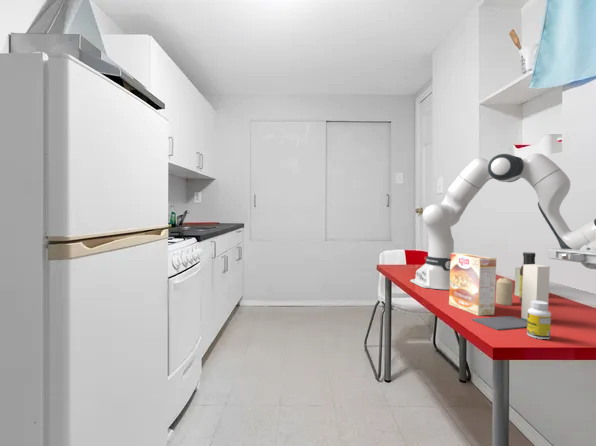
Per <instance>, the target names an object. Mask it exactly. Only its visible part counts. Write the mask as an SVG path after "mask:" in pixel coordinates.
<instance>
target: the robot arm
mask: <svg viewBox="0 0 596 446" xmlns="http://www.w3.org/2000/svg"><path fill="white" fill-rule="evenodd" d="M492 179H494V180H496V181H498V182H501V183H502V182H503V183H513V182H516V181H518V180H520V179H524V180H525V181H527V183H528V184H529V185H530V186H531V187H532V188H533V189H534V191H535V192H536V195H537V198H538V203H537V207H538V210H539V211H540V213H541V214H542V217H543V218H544V220H545V222H546V223H547V225H548V226H549V229H551V231H552V233H553V234H554V236H555V237H556V240H557V241H558V244H559V247H560V248H549V249H548V251H547V252H548V253H547V257H548V259H551V260H557V261H566V262H574V263H575V262H576V263H580V264H581V265H582V266H584V267H585V268H587V269H589V270H596V218H595V219H593V220H591V221H589V222H587V223H586V224H584V225H582V226H580V227H579V228H577V229H575V230H574V231H572V230H571V229H570V228H569V226H568V224H567V223H566V221H565V219H564V218H563V217H562V214H561V212H560V211H561V210H560V208H561V205H562V203H563V202H564V200H565V199H566V197H567V195H568V194H569V192H570V189H571V180H570V178H569V177H568V175H567V173H565V171H563V170H562V168H561V167H559V166H558V165H557V163H555V162H554V161H553V160H551V159H550V158H549V157H548V156H546V155H544V154H542V153H534V154H531V155H528V156H527V157H525V158H523V159H522V157H521V156H520V157H519V156H516V155H513V154H508V153H500V154H498V155H495V156H493V157H492V158H491V159H490V160H488V159H486V158H483V157H477V158H474V159H472V161H470V163H468V164H467V165H466V167H464V168H463V169H462V170H461V172H459V174H458V175H457V176H456V178H455V179H454V180H453V181H452V183H451V184H450V185H449V187H448V188H447V190H446V194H445V196H444V198H443V199H442V201H441V202H440V203H432V204H430V205H428V206H426V207H425V208H424V210H423V212H422V220H423V222H424V224H425V227H426V233H427V241H428V244H427V245H428V247H427V249H428V250H427V256H424V259H425V261H424V262H425V263H424V264H423V265H422V266H420V267H419V268H418V269H416V271H415V278H411V279H410V281H409V282H410V283H413V284H414V285H417V286H419V287H421V288H424V289H426V288H428V289H432V290H433V289H436V290H449V291H450V262H451V253H455V252H454V251H455V250H454V249H455V239H454V238H453V235H452V230H451V229H452V228H451V227H453V226H455V225H456V224H457V223H459V221H460V220H461V217H462V215H463V214H464V212H465V210H466V209H467V207H468V205H469V204H470V203H471V202H472V200H473V199H474V197H475V196H476V195H478V193H479V192H480V190H481V189H482V188H483V187H484V186H485V185H486V183H488V182H489V181H490V180H492Z"/></svg>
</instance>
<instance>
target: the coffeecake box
mask: <svg viewBox="0 0 596 446" xmlns="http://www.w3.org/2000/svg"><path fill="white" fill-rule="evenodd" d="M496 277H497V257H495V258H494V257H489V256H483V255H478V254H477V255H476V254H473V253H472V254H471V253H465V252H463V253H461V252H460V253H459V252H454V253H451V262H450V290H449V295H448V297H449V299H448V305H450V306H452V307H454V308H457V309H460V310H462V311H464V312H467V313H470V314H473V315H475V316H478V317H479V316H480V317H481V316H483V317H484V316H494V315H495V306H496V305H495V304H496V281H497V279H496Z"/></svg>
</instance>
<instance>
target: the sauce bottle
mask: <svg viewBox="0 0 596 446" xmlns="http://www.w3.org/2000/svg"><path fill="white" fill-rule="evenodd" d="M522 256H523V257H522V258H523V262H522V263H523V264H522V265H521V266H520V267H519V268H520V285H519V296H518V297H519V302H520V303H521V304H522V286H523V265H525V264H536V259H535V258H536V252H533V251H532V252H531V251H523V253H522Z"/></svg>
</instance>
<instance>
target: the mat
mask: <svg viewBox="0 0 596 446" xmlns="http://www.w3.org/2000/svg"><path fill="white" fill-rule="evenodd" d="M471 321H473V322H476V323H478V324H480V325H483V326H485V327H488V328H491V329H494V330H497V331H503V330H504V331H505V330H514V329H525V328H526V329H527V321H526V320H523V319H521V318H519V317H516V316H512V315H506V316H492V317H491V316H490V317H479V318H478V317H477V318H471Z"/></svg>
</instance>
